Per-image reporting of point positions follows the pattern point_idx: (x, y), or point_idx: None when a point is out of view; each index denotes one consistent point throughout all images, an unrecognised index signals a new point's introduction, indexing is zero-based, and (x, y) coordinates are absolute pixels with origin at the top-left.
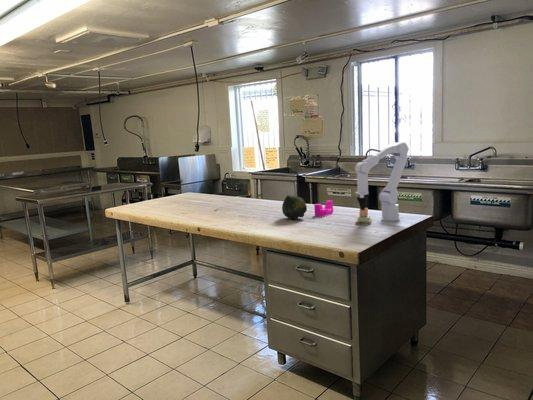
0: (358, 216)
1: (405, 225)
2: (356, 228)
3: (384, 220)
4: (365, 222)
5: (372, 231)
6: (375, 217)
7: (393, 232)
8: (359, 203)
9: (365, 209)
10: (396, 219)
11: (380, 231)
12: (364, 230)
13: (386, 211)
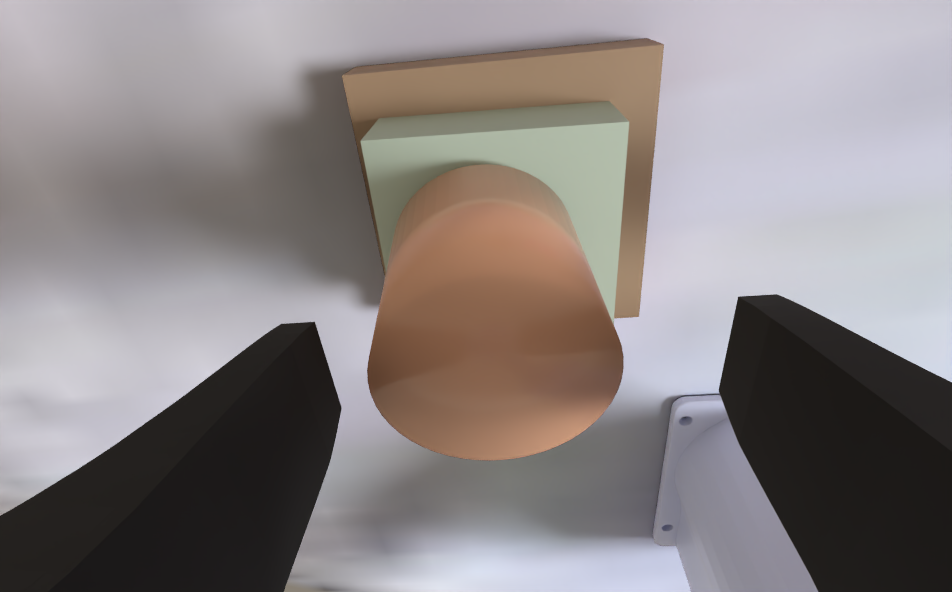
0: (479, 137)
1: (436, 584)
2: (78, 142)
3: (669, 431)
4: (381, 255)
5: (48, 371)
6: (912, 311)
7: None
8: (61, 490)
9: (395, 415)
10: (675, 533)
11: (100, 439)
12: (35, 278)
13: (723, 565)
